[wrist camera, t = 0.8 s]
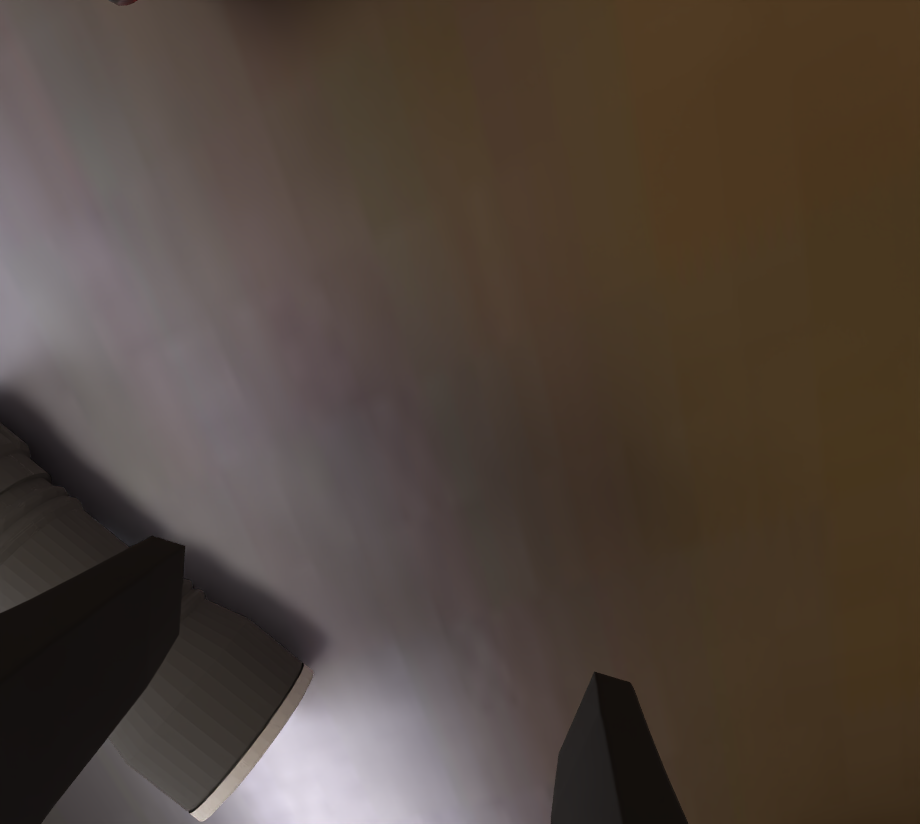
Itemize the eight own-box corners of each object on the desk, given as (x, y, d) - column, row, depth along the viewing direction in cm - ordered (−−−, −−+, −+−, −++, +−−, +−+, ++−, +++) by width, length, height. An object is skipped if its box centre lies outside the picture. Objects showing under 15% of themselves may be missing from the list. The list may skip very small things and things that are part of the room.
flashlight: (-75, 470, 26) (-238, 538, 21) (-17, 362, 24) (-180, 409, 19) (253, 728, 27) (174, 855, 22) (334, 643, 25) (267, 760, 20)
